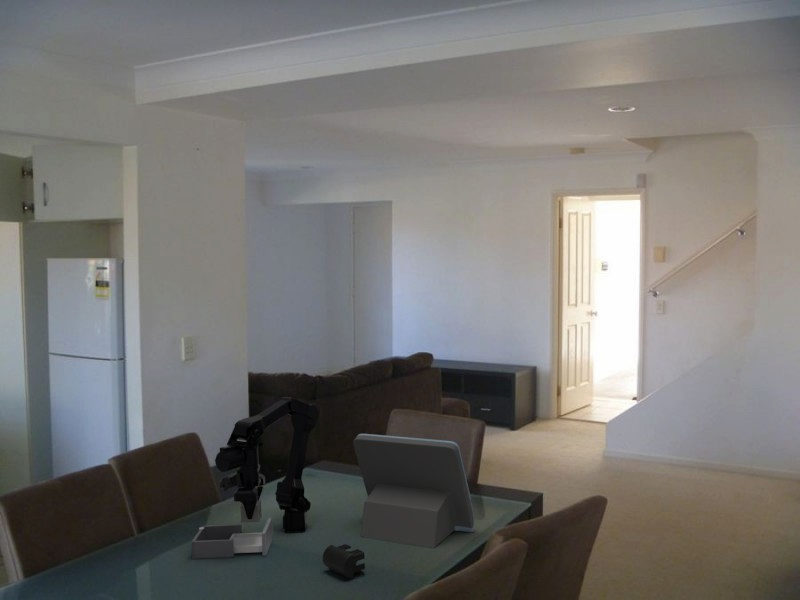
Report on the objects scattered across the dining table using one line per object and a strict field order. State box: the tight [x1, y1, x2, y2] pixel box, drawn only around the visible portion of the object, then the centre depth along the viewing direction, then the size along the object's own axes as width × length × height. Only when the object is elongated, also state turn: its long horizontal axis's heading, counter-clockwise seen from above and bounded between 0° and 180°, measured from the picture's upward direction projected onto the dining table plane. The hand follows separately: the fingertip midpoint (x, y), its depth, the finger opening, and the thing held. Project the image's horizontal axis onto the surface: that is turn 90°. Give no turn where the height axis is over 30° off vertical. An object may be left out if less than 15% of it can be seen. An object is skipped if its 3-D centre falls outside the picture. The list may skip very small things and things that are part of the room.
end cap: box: [322, 543, 366, 580], centre depth 213 cm, size 10×7×7 cm
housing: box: [190, 523, 243, 560], centre depth 235 cm, size 12×14×5 cm
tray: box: [229, 517, 274, 557], centre depth 235 cm, size 12×14×6 cm
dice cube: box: [240, 499, 263, 524], centre depth 234 cm, size 5×5×5 cm
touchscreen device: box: [352, 433, 475, 549], centre depth 243 cm, size 35×20×30 cm, turn 61°
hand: (251, 516), depth 235 cm, fingers closed on dice cube, 5 cm apart
